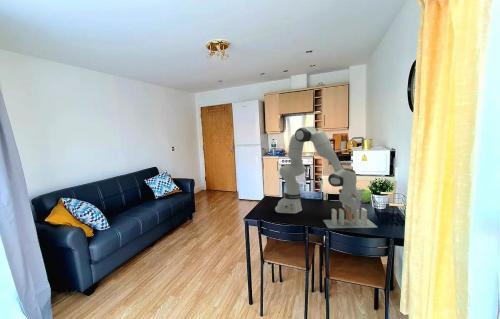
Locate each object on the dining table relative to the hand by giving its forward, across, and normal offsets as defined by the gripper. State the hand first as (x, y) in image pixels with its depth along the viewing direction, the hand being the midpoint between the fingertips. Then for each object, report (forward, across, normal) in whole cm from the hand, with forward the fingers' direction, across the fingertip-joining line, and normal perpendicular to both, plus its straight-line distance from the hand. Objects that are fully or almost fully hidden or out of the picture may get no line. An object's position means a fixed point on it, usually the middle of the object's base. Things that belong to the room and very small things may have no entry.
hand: (349, 211), depth 153 cm
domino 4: (+8, -1, -5) cm, 10 cm away
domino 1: (+8, +2, +10) cm, 13 cm away
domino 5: (+8, -2, -10) cm, 13 cm away
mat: (+9, 0, 0) cm, 9 cm away
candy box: (+9, +28, -19) cm, 35 cm away
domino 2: (+8, +1, +5) cm, 10 cm away
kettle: (+9, +42, -37) cm, 57 cm away
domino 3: (+6, 0, 0) cm, 6 cm away
